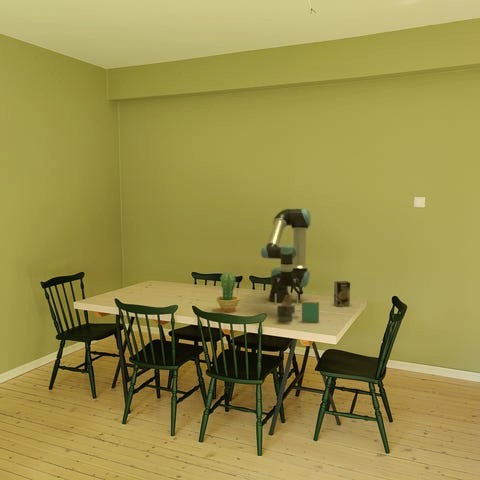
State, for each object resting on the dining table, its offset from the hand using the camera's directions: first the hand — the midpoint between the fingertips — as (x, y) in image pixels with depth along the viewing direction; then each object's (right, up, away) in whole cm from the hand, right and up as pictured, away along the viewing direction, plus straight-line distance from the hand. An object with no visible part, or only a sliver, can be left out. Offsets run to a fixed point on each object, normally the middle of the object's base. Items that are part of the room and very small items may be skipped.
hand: (286, 304), depth 289 cm
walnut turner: (0, -3, 0) cm, 3 cm away
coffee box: (+40, -4, +26) cm, 48 cm away
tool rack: (0, -7, +1) cm, 7 cm away
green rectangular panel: (+13, -8, -12) cm, 19 cm away
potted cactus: (-37, -6, +16) cm, 40 cm away
